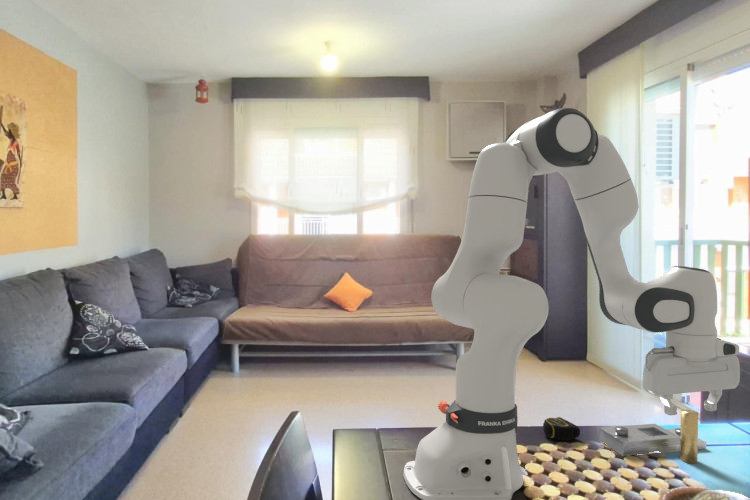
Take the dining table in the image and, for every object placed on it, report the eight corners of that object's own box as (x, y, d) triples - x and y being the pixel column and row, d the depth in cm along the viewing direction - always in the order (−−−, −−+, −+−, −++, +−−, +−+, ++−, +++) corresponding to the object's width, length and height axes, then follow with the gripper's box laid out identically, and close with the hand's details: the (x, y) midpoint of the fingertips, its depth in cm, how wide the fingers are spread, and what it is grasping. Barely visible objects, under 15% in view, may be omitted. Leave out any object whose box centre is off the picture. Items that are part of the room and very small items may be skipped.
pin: (688, 464, 101) (688, 415, 101) (676, 457, 104) (677, 410, 104) (700, 462, 102) (701, 414, 102) (689, 456, 105) (689, 409, 104)
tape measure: (581, 441, 113) (581, 425, 113) (555, 445, 111) (556, 428, 111) (561, 430, 119) (561, 414, 119) (536, 433, 117) (537, 418, 117)
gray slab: (623, 456, 105) (623, 436, 105) (599, 441, 113) (599, 422, 113) (706, 449, 108) (706, 429, 108) (677, 434, 116) (677, 416, 116)
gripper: (657, 352, 98) (657, 422, 98) (746, 345, 101) (745, 413, 102) (635, 345, 104) (635, 411, 104) (719, 339, 108) (719, 403, 108)
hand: (690, 412), depth 103 cm, fingers open, 8 cm apart
